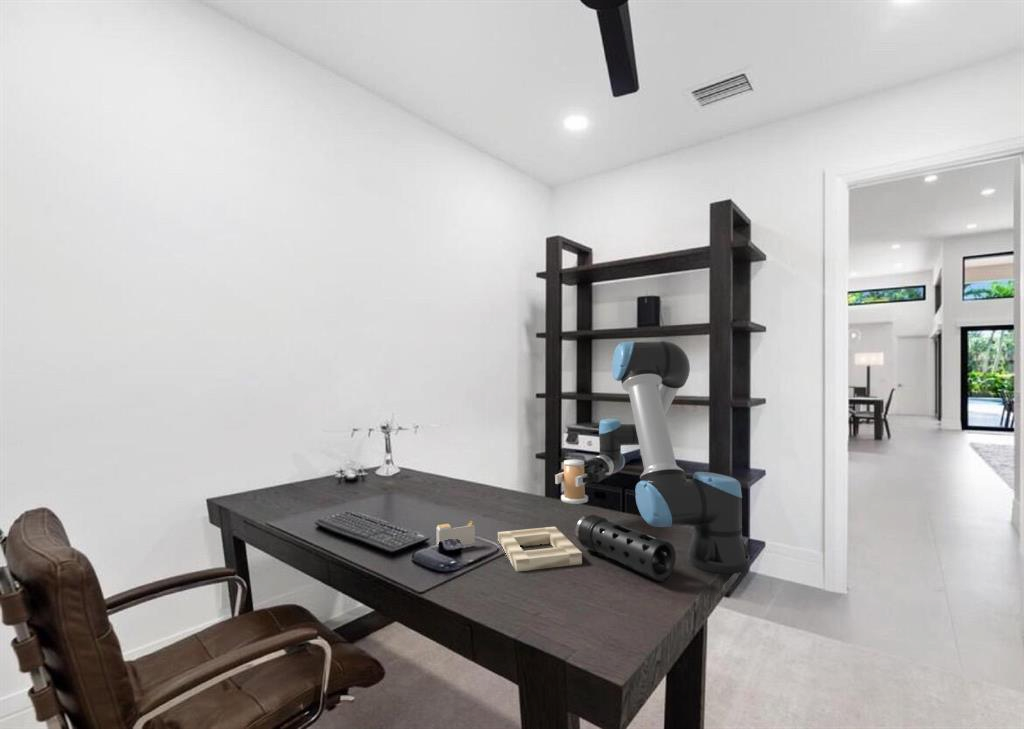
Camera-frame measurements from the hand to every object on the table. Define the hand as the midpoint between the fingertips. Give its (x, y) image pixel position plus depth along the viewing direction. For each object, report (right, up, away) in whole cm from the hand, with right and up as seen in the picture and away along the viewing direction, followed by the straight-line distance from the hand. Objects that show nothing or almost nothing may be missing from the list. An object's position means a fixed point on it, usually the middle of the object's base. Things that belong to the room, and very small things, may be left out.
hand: (566, 480), depth 152 cm
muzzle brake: (+12, -18, -20) cm, 30 cm away
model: (-33, -19, -7) cm, 39 cm away
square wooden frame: (-10, -18, -11) cm, 23 cm away
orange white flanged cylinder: (+3, -7, +4) cm, 9 cm away
